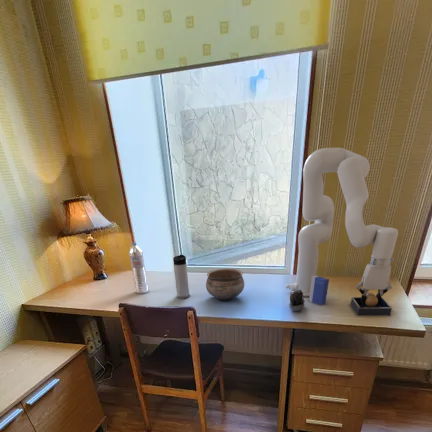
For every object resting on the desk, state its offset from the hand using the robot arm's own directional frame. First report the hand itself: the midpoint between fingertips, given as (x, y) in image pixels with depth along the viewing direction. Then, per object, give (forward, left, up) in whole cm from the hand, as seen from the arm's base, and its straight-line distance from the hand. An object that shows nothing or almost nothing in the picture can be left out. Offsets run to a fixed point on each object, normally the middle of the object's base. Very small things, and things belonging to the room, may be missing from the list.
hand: (369, 303), depth 145 cm
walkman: (-21, +10, -3) cm, 23 cm away
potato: (0, 0, -1) cm, 1 cm away
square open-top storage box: (0, 0, -3) cm, 3 cm away
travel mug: (-87, +20, -3) cm, 89 cm away
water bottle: (-111, +28, -3) cm, 114 cm away
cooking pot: (-65, +17, -3) cm, 67 cm away
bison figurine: (-34, +29, +24) cm, 51 cm away
